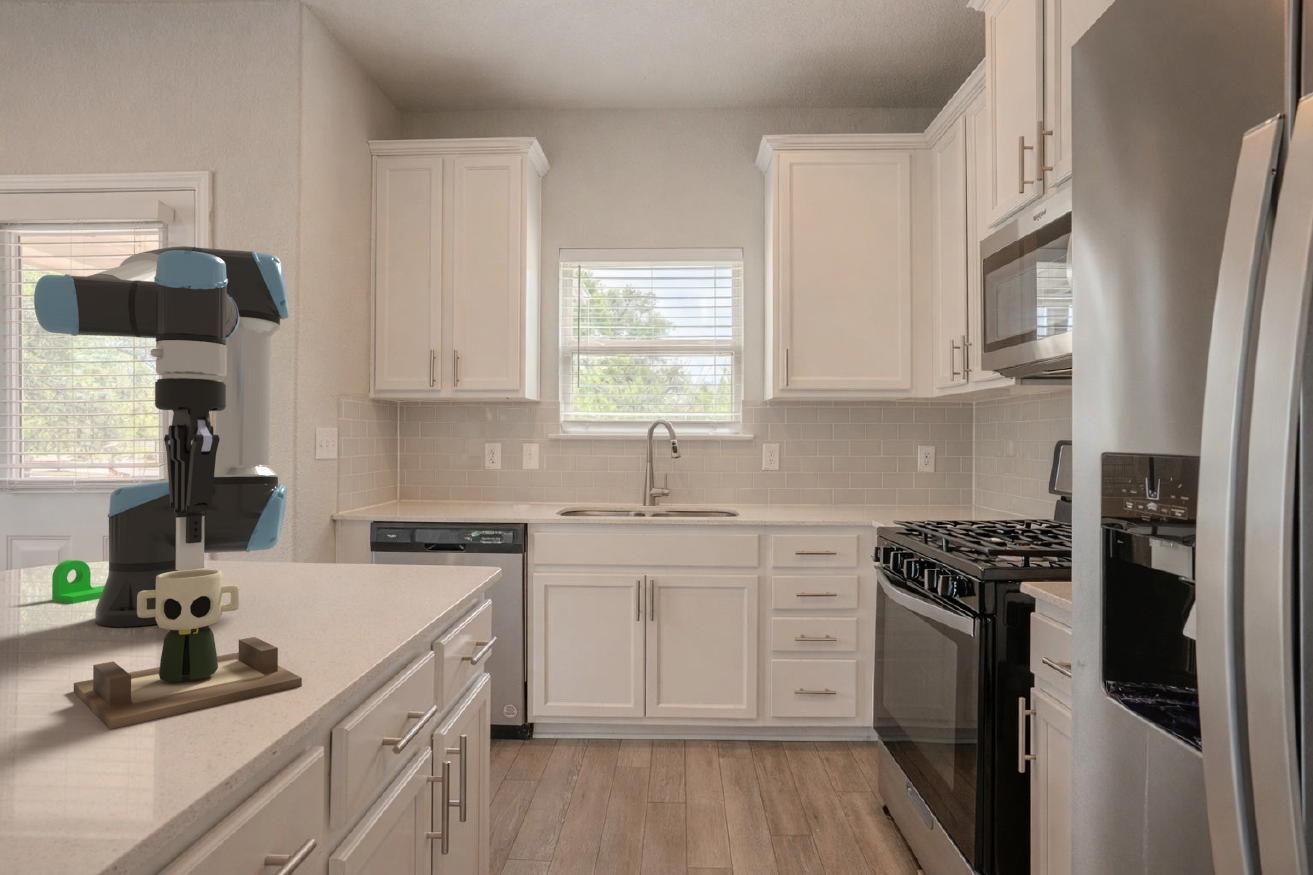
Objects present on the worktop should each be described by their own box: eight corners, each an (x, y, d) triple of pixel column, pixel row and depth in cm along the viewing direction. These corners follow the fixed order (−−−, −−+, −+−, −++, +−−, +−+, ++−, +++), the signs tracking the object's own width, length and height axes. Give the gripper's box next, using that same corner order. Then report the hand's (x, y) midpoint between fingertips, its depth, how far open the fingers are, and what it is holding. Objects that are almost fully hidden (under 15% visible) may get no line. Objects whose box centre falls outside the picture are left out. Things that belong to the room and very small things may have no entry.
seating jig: (73, 690, 94) (73, 658, 94) (248, 657, 108) (248, 629, 108) (110, 729, 82) (110, 691, 82) (301, 685, 96) (302, 653, 96)
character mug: (130, 692, 90) (131, 581, 90) (141, 675, 96) (142, 571, 96) (237, 680, 94) (237, 574, 94) (240, 665, 101) (241, 566, 101)
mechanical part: (73, 607, 141) (73, 564, 141) (52, 604, 143) (52, 561, 143) (138, 595, 152) (138, 555, 152) (117, 593, 154) (118, 553, 154)
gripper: (141, 379, 97) (140, 566, 97) (172, 373, 88) (171, 579, 88) (207, 382, 102) (206, 559, 102) (243, 377, 93) (241, 571, 93)
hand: (189, 568), depth 95 cm, fingers closed
